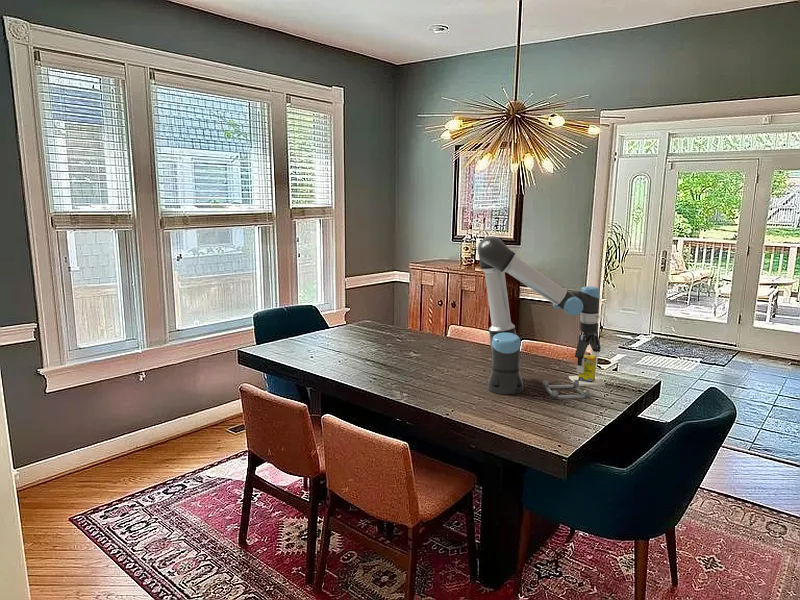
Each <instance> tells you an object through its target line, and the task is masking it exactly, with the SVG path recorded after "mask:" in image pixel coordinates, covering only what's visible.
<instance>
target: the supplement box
mask: <svg viewBox="0 0 800 600" xmlns="http://www.w3.org/2000/svg"><path fill="white" fill-rule="evenodd" d="M583 358H584V373H579V372H578V376H579V377H578V380H579V381H587V382H593V381H594V379H595V376H596V371H597V370H596V368H597V367H596V356H595V355H591V354H587V353H585V354H584V357H583Z"/></svg>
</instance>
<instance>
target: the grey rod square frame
mask: <svg viewBox="0 0 800 600" xmlns="http://www.w3.org/2000/svg"><path fill="white" fill-rule="evenodd" d="M549 383H550V381H549V380H545V379H544V380H542V389H545V390H546V391H547V393H548V394H549V395H550V396H551V399H553V400H558V399H590V397H591V395H590V394H591V391H590V389H582V388H581V386H579V380H573V381H572V384H549ZM567 388H568V389H571V388H573V389H575V390H577V392H578V393H580V394H566V395H565V394H563V395H562V394H560V395H559V390H557V389H567ZM551 389H553V390H551ZM555 389H556V390H555Z"/></svg>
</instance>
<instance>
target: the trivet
mask: <svg viewBox="0 0 800 600" xmlns="http://www.w3.org/2000/svg"><path fill="white" fill-rule="evenodd" d="M578 377H579V375H568V378H569V380H571V381H572V382H573V380H578ZM593 386H594V387H599V386H600V387H603V386H605V387H606V383H605V382H604V381H603V380H601V378H599V377H598V376H596V375H595V379H594V381H593V382H587V381H579V387H593Z"/></svg>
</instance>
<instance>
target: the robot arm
mask: <svg viewBox="0 0 800 600" xmlns="http://www.w3.org/2000/svg"><path fill="white" fill-rule="evenodd" d="M477 254H478V259H479V267H480V271H482V272H484V277H485V285H486V292H487V293H486V294H487V299H488V306H489V307H488V308H489V315H490V323H491V325H490V327H488V332H489V345H490V348H491V373H490V376H489V379H488V381H487V390H488V391H490V392H492V393H495V394H499V395H516V394H520V393H522V392H523V391H524V382H523V379H522V375H521V371H520V367H521V366H520V365H521V364H520V363H521V347H522V346H521V345H522V343H521V338H520V337H519V335H518V334H517V332H516V331H517V330H516V325H515V324H514V323H512V320H511V319H512V318H511V313H510V303H509V296H508V289H507V282H506V273H507V274H508V275H510V276H512V277H513V278H514V279H516V280H517V281H519V283H522V284H523V285H524V286H527V287H528V288H529V289H531V290H532V291H534V292H535V293H537V294H539V295H540V296H541V297H542V298H544V299H546V300H548V301H549V302H550V303H552V307H553V308H554V309H559V310H562V311H564V312H565V313H566V314H567V315H569V316H573V317H574V316H578V315H579V316H580V317H579V319H580V323H579V331H581V332H582V334H579V335H578V342H577V345H576V349H575V353H574V357H575V358H576V359H577V360H576V361H577V362H576V363H577V364H576V372H577V373H578V374H579V373H584V358H583V357H584V354H586V351H587V348H588V346H590V348H591V354H590V355H595V356H596V368H597V367H598V361H599V359H598V358H599V356H598V355H599V353H600V352H601V344H600V343H601V342H600V338H599V323H598V322H599V319H600V299H601V296H600V293H601V292H600V288H599V287H597V286H592V285H591V286H582V287H581V290H579V291H568V289H565V288H564V287H562V286H561V285H559V284H558V283H556V282H555V281H553V280H552V279H550V278H549V277H548V276H546V275H545V274H543V273H541V272H540V271H538V270H537V269H535V268H534V267H532V265H529V263H526V262H525V261H523V260H522V259H521V258H519V257H518V256H517V253H516V252H514V251H513V250H512V249H511V248H509V247H508V246H507V244H505V243H504V241H503V240H502V239H501V238H500V237H498V236H486V237H484V238H483V239H482V240H481V241H480V242H479V243H478V246H477Z"/></svg>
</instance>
